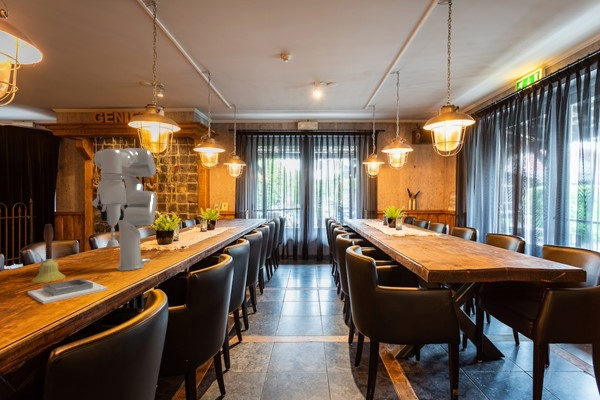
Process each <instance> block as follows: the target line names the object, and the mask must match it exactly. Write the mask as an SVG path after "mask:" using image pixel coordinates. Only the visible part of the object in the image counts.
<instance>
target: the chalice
mask: <svg viewBox="0 0 600 400" xmlns="http://www.w3.org/2000/svg"><path fill="white" fill-rule="evenodd" d="M106 206H107V207H106V209H105V212H107V221H106V222H107V225H109V226H111V227H110V232H111V233H110V236H111V238H110V240H108V242H107V244H106V247H107V248H111V247H112V248H113V247H120V242H118V240H117V239H116V238H115V235H116V234H115V226H116V225H117V224H118V220H119V218H120V215H121V214H120V206H121V204H107V205H106Z"/></svg>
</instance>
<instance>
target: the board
mask: <svg viewBox="0 0 600 400" xmlns="http://www.w3.org/2000/svg"><path fill="white" fill-rule="evenodd" d="M85 280H86V279H85ZM86 281H89V282H91V283H93V288H92V289H87V290H82V291H77V292H72V293H67V294H62V295H58V296H52V295H50V294H49V293H47V292H45V291H43V288H38V289H34V290H28V291H27V295H29V296H30V297H31V298H33V299H35V300H36V301H38V302H40V303H41V304H43V305H45V304H51V303H54V302H60V301H64V300H68V299H73V298H77V297H78V298H79V297H81V296H86V295H91V294H96V293H100V292H101V293H102V292H104V291H108V289H109V287H108V286H105V285H102V284H99V283H98V282H97V283H96V282H94V281H91V280H88V279H87V280H86ZM74 286H77V285H74ZM68 287H72V286H68ZM63 288H66V287H63ZM58 289H61V288H58Z"/></svg>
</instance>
